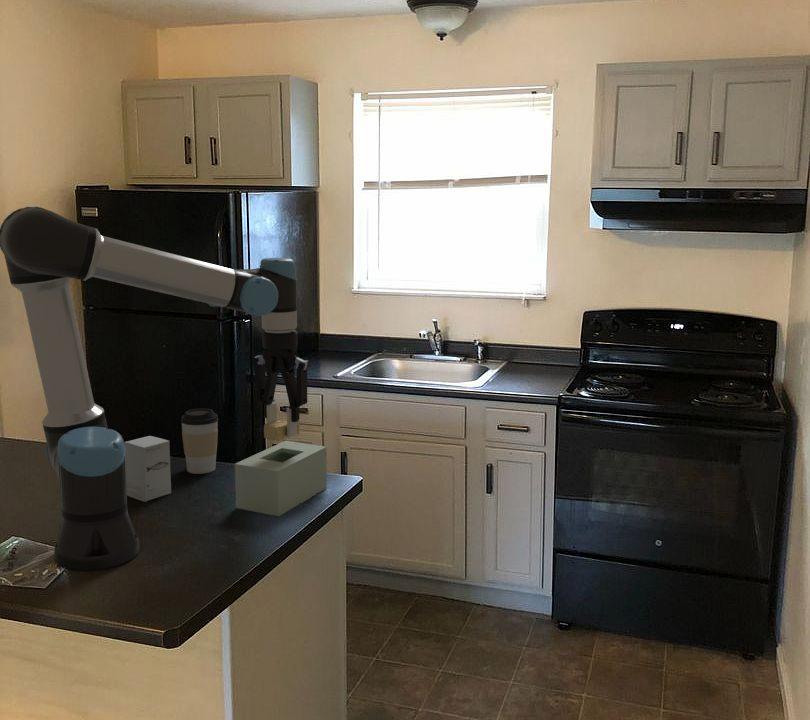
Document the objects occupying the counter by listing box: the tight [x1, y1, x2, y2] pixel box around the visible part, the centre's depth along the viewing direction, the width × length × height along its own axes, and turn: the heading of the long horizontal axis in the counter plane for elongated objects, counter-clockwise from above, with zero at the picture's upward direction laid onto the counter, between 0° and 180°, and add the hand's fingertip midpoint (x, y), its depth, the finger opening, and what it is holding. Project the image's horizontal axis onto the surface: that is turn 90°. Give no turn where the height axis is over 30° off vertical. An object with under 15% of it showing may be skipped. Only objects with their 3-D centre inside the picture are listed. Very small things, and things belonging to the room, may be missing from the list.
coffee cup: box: [180, 408, 219, 475], centre depth 216 cm, size 9×9×15 cm
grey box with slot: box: [234, 440, 328, 517], centre depth 197 cm, size 20×11×10 cm, turn 155°
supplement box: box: [123, 435, 172, 503], centre depth 198 cm, size 7×7×13 cm
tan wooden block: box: [263, 417, 301, 442], centre depth 195 cm, size 7×4×3 cm, turn 144°
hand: (282, 433), depth 195 cm, fingers closed on tan wooden block, 4 cm apart
